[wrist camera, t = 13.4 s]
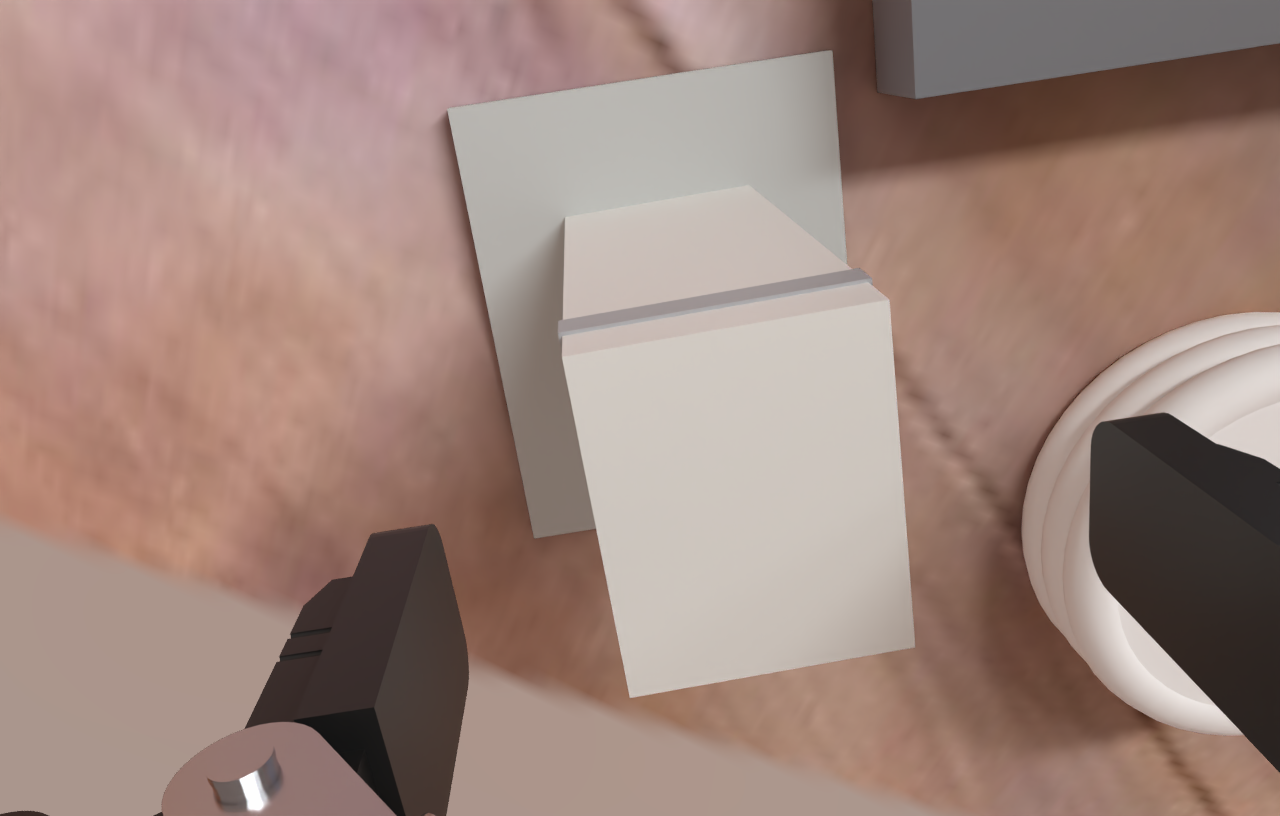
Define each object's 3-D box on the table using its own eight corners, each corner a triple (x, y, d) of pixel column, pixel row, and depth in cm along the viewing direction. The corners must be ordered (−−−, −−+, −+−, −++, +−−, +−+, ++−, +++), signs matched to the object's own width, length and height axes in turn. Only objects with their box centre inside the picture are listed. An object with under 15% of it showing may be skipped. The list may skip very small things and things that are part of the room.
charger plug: (751, 182, 21) (893, 294, 12) (777, 402, 23) (919, 649, 14) (562, 215, 21) (557, 353, 12) (603, 433, 23) (626, 701, 14)
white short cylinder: (965, 406, 24) (1027, 464, 21) (1365, 238, 23) (1495, 270, 20) (1068, 713, 28) (1135, 804, 24) (1420, 576, 27) (1539, 651, 24)
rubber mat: (827, 49, 21) (832, 50, 21) (857, 479, 24) (862, 486, 24) (449, 108, 21) (446, 108, 20) (534, 531, 24) (534, 538, 24)
